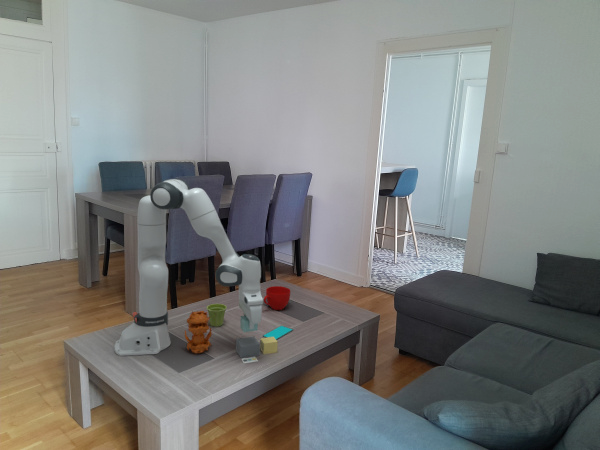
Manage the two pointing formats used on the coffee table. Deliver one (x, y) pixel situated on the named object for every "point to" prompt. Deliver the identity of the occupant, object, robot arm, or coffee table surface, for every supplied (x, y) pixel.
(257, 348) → the tower base
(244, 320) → the brick teal
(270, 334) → the smartphone
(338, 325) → the coffee table surface
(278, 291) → the ceramic cup
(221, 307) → the plant pot
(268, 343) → the brick mustard
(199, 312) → the orange figurine
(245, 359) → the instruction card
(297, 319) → the coffee table surface
